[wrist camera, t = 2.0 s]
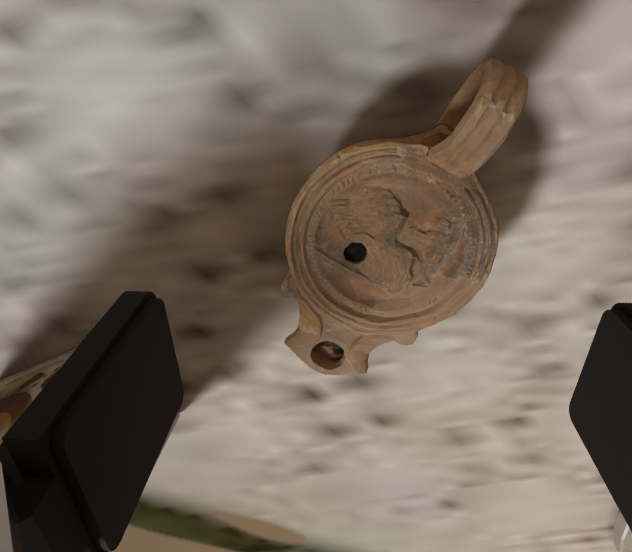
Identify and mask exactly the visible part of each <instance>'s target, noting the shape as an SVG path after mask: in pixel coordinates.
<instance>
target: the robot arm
mask: <svg viewBox="0 0 632 552" xmlns="http://www.w3.org/2000/svg"><path fill="white" fill-rule="evenodd" d="M182 400H183V385H182V381H181V376H180V372H179V367H178V363H177V359H176V354H175V350H174V345H173V341H172V336H171V332H170V328H169V323H168V319H167V314H166V310H165V305H164V302H163V300H162V299H160V298H156V296H155V294H154V293H153V292H140V291H126V292H124V293H123V294H122V295H121V296H120V297H119V298H118V300H117V301H116V302H115V303H114V304H113V305H112V307H111V308H110V309H109V310H108V311H107V313H106V314H105V315H104V316H103V317H102V319H101V320H100V321H99V322H98V323H97V325H96V326H95V327H94V328H93V329H92V331H91V332H90V333H89V334H88V335H87V337H86V338H85V339H84V340H83V341H82V343H81V344H80V345H79V346H78V347H77V349H76V350H75V351H74V352H73V353H72V355H71V356H70V357H69V358H68V359H67V361H66V362H65V363H64V364H63V365H62V367H61V368H60V369H59V370H58V371H57V373H56V374H55V375H54V376H53V377H52V379H51V380H50V381H49V382H48V383H47V385H46V386H45V387H44V388H43V389H42V390H41V392H40V393H39V394H38V395H37V396H36V398H35V399H34V400H33V401H32V402H31V404H30V405H29V406H28V407H27V408H26V410H25V411H24V412H23V413H22V414H21V416H20V417H19V418H18V419H17V420H16V422H15V423H14V424H13V425H12V426H11V428H10V429H9V430H8V431H7V432H6V434H5V435H4V436H3V437H2V440H3V442H2V443H1V445H0V552H108V551H113V550H115V549H116V548H117V546H118V545H119V543H120V541H121V539H122V537H123V535H124V532H125V530H126V528H127V526H128V523H129V521H130V519H131V517H132V514H133V512H134V510H135V508H136V505H137V503H138V501H139V499H140V496H141V494H142V492H143V490H144V487H145V485H146V483H147V481H148V478H149V476H150V474H151V472H152V469H153V467H154V465H155V463H156V460H157V458H158V456H159V454H160V451H161V449H162V447H163V445H164V442H165V440H166V438H167V436H168V433H169V431H170V429H171V427H172V424H173V422H174V420H175V418H176V415H177V413H178V411H179V409H180V406H181V404H182ZM569 413H570V418H571V420H572V423H573V424H574V426H575V428H576V430H577V432H578V434H579V436H580V437H581V439H582V441H583V443H584V445H585V447H586V449H587V450H588V452H589V454H590V456H591V458H592V460H593V462H594V463H595V465H596V467H597V469H598V471H599V473H600V475H601V476H602V478H603V480H604V482H605V484H606V486H607V488H608V489H609V491H610V493H611V495H612V497H613V499H614V501H615V502H616V504H617V506H618V508H619V510H620V512H619V514H618V515H617V517H616V521H615V525H614V529H613V535H614V543H615V545H616V548H617V550H618V552H632V303H617V304H615V305H614V306H613V307H612V309H611V310H606V311H605V312H604V313H603V315H602V317H601V320H600V323H599V325H598V328H597V331H596V334H595V336H594V339H593V342H592V344H591V347H590V350H589V353H588V355H587V358H586V361H585V364H584V366H583V369H582V372H581V374H580V377H579V380H578V383H577V385H576V388H575V391H574V393H573V396H572V399H571V402H570V405H569Z"/></svg>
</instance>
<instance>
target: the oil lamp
mask: <svg viewBox="0 0 632 552" xmlns="http://www.w3.org/2000/svg"><path fill="white" fill-rule="evenodd" d="M527 91H528V78H527V77H526V76H525V75H524V74H523V73H521V72H517V71H516V70H515V69H514V67H512V66H510V65H504V64H503V63H502V61H501V60H499V59H496V58H491V59H489V60H484V61H483V62H482V63H481V64H479V66H478V67H477V68H476V69H475V70H474V71H473V72H472V74H471V75H470V76H469V77H468V78H467V80H466V81H465V82H464V84H463V85H462V87H461V88H460V89H459V91H458V92H457V93H456V95H455V96H454V97H453V99H452V100H451V102H450V103H449V105H448V106H447V108H446V110H445V111H444V113H443V115H442V116H441V118H440V120H439V122H438V123H437V125H436V126H435V128H434V129H432V130H430V131H428V132H426V133H423V134H418V135H413V136H409V137H405V138H383V139H374V140H367V141H361V142H359V143H356V144H353V145H350V146H347V147H345V148H343V149H341V150H339V151H337V152H336V153H335V154H333V155H332V156H330V157H329V158H327V159H326V160H325V161H324V162H323V163H322V164H321V165H320V166H319V167H318V168H317V169H316V170H315V171H314V172H313V173H312V174H311V175H310V177H309V178H308V179H307V181H306V182H305V183H304V185H303V186H302V188H301V189H300V191H299V193H298V195H297V197H296V199H295V200H294V202H293V204H292V206H291V210H290V213H289V217H288V220H287V224H286V235H285V248H286V256H287V260H288V263H289V268H290V272H289V273H288V274H287V275H286V276H285V277H284V279H283V281H282V283H281V285H280V289H281V293H282V294H283V296H285V297H293V298H295V299H296V300H297V302H298V304H299V309H300V319H299V325H298V328H297V329H296V331H295V332H293V333H292V334H291V335H289V336H288V337H287V338H286V340H285V341H284V343H285V344H286V345H287V346H288V347H289V348H290V349H291V350H292V351H293V352H294V353H295V354H296V355H297V356H298V357H299V358H300V359H301V360H302V361H303V362H304V363H305V364H307V365H308V366H309V367H310V368H312V369H313V370H315V371H318V372H320V373H323V374H329V375H346V374H359V373H367V370H368V356H369V353H370V351H371V350H372V349H374V348H375V347H377V346H379V345H381V344H383V343H387V342H390V341H393V340H394V341H396V342H398V343H399V344H402V345H410V344H413V343H414V341H415V340H416V338H417V337H418V330H421V329H423V328H426V327H429V326H431V325H434V324H437V323H438V322H440V321H442V320H444V319H446V318H448V317H450V316H452V315H454V314H456V313H457V312H458V311H459V310H460V309H461V308H462V307H463V306H464V305H466V304H467V303H468V302H469V301H471V299H472V298H473V297H474V296H475V294H476V293H477V292H478V291H479V290H480V289H481V288H482V287H483V285H484V283H485V282H486V280H487V278H488V276H489V274H490V272H491V268H492V265H493V262H494V259H495V256H496V251H497V246H498V235H499V228H498V222H497V219H496V215H495V212H494V210H493V207H492V205H491V202H490V200H489V197H488V195H487V193H486V191H485V189H484V187H483V186H482V184H481V182H480V181H479V179H478V178H477V176H476V174H475V171H476V170H478V169H479V168H480V167H481V166H482V165H484V164H485V163H486V162H487V161H488V160H489V158H490V157H491V156H492V155H493V154H494V153H495V151H496V150H497V149H498V148H499V147H500V146H501V144H502V143H503V142H504V141H505V140H506V138H507V136H508V134H509V132H510V131H511V129H512V127H513V125H514V123H515V122H516V120H517V118H518V117H519V115H520V113H521V111H522V108H523V106H524V103H525V100H526V97H527Z"/></svg>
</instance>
